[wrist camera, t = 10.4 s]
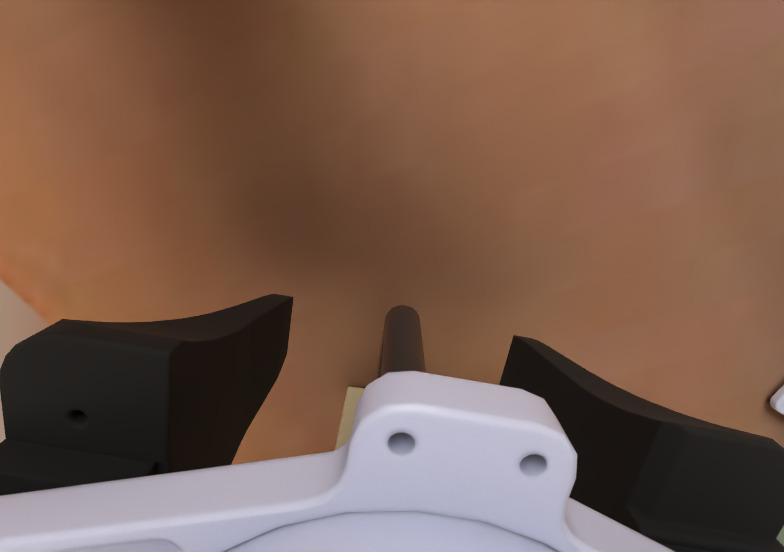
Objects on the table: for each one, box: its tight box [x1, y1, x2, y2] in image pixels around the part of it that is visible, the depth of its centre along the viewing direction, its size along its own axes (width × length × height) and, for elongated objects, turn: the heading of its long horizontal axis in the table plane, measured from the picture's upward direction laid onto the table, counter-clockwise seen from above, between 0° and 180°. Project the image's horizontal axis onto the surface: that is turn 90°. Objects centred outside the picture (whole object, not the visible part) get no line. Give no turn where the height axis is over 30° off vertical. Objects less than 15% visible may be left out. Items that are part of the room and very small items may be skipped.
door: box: [334, 305, 426, 451], centre depth 16 cm, size 6×16×10 cm, turn 82°
